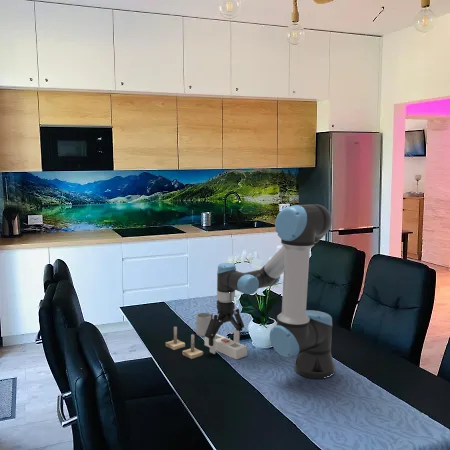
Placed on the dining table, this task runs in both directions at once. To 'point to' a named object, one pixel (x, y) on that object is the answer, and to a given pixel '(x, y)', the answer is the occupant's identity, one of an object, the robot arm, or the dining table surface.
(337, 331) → the dining table surface
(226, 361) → the dining table surface
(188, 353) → the wooden peg stand
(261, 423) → the dining table surface
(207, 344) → the power strip
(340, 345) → the dining table surface
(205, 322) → the cup
